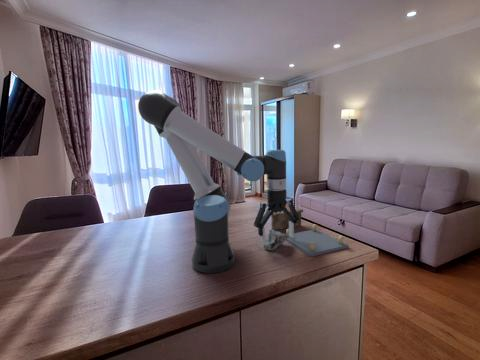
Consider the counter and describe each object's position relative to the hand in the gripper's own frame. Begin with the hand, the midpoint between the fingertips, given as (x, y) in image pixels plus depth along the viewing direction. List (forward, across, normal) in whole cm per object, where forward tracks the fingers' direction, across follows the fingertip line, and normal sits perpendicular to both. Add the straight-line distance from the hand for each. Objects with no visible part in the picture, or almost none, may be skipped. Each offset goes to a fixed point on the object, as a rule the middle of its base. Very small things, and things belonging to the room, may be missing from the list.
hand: (277, 240), depth 102 cm
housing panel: (+2, +15, +17) cm, 22 cm away
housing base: (+2, +15, -4) cm, 16 cm away
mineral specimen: (+3, -1, 0) cm, 3 cm away
